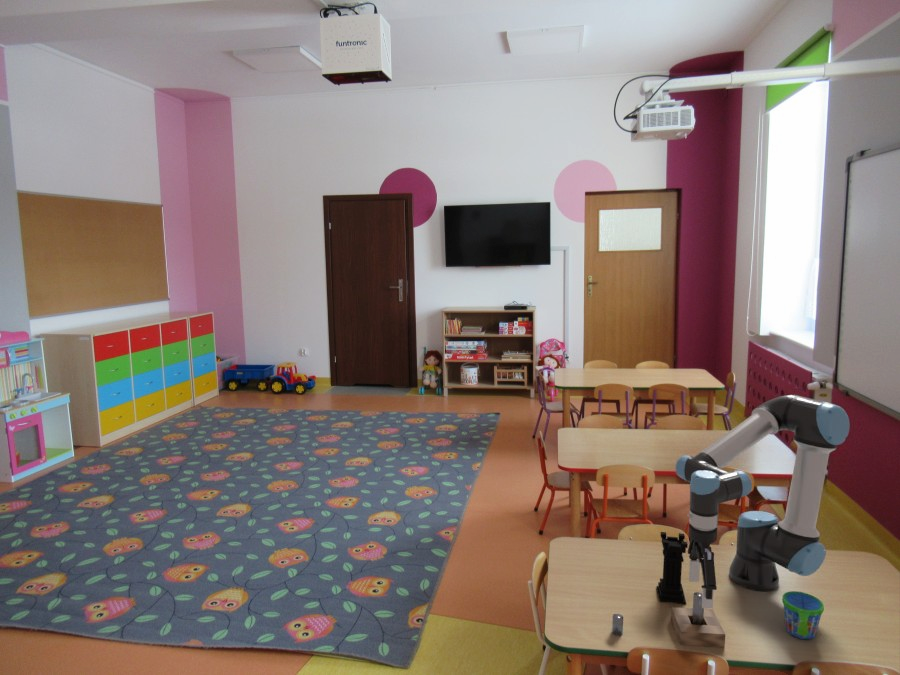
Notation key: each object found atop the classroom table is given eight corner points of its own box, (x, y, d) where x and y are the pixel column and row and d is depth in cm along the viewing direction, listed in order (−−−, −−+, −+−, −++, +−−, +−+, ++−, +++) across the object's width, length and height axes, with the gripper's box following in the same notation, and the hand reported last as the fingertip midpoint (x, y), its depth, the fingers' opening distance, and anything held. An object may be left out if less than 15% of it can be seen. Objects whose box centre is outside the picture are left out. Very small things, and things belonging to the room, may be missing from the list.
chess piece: (685, 604, 199) (689, 545, 196) (659, 601, 201) (662, 542, 198) (681, 590, 207) (685, 533, 204) (656, 588, 209) (659, 531, 205)
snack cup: (782, 613, 194) (785, 583, 192) (822, 624, 188) (825, 593, 187) (776, 640, 181) (779, 608, 179) (819, 653, 175) (822, 620, 174)
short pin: (621, 629, 187) (622, 614, 186) (623, 635, 184) (624, 620, 183) (611, 629, 187) (612, 613, 186) (612, 635, 184) (613, 619, 183)
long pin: (700, 630, 186) (703, 592, 184) (703, 636, 183) (705, 598, 181) (690, 629, 187) (692, 591, 185) (692, 635, 184) (694, 597, 182)
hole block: (711, 621, 190) (712, 609, 190) (724, 647, 178) (725, 634, 178) (670, 619, 191) (671, 607, 191) (680, 644, 180) (681, 631, 179)
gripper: (678, 506, 192) (676, 570, 196) (701, 546, 168) (698, 619, 171) (704, 506, 191) (701, 571, 195) (731, 547, 167) (727, 620, 171)
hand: (700, 593), depth 183 cm, fingers open, 13 cm apart
